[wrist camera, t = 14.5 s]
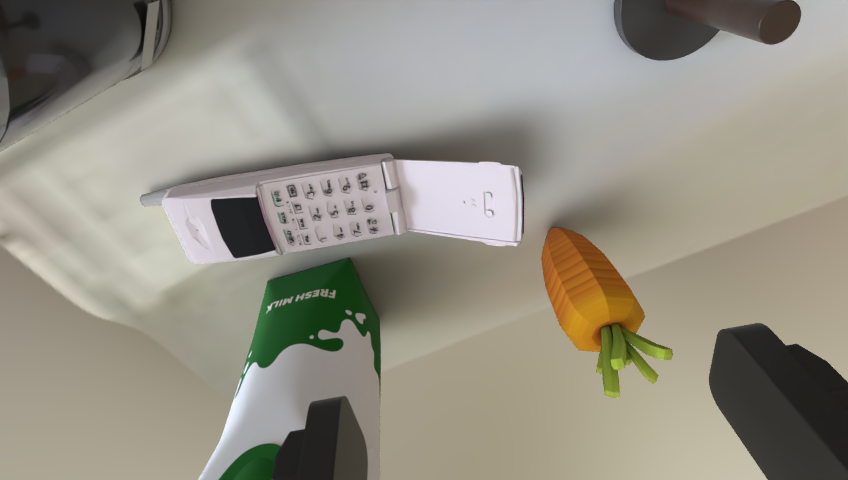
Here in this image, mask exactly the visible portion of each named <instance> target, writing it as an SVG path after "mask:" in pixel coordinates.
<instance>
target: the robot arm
mask: <svg viewBox="0 0 848 480" xmlns="http://www.w3.org/2000/svg"><path fill="white" fill-rule="evenodd" d="M171 17H172V13H171V2H170V0H0V152H1V151H3V150H5V149H6V148H8V147H10V146H11V145H13V144H15V143H16V142H18V141H20V140H22V139H23V138H25V137H27V136H28V135H30V134H32V133H33V132H35V131H37V130H39V129H40V128H42V127H44V126H45V125H47V124H49V123H50V122H52V121H54V120H55V119H57V118H59V117H61V116H62V115H64V114H66V113H67V112H69V111H71V110H72V109H74V108H76V107H78V106H79V105H81V104H83V103H84V102H86V101H88V100H89V99H91V98H93V97H94V96H96V95H98V94H100V93H101V92H103V91H105V90H106V89H108V88H110V87H112V86H113V85H115V84H117V83H118V82H120V81H122V80H125V79H127V78H130V77H132V76H134V75H136V74H138V73H139V72H141V71H143V70H144V69H146V68H147V67H149V66H150V65H152V63H153V62H154V61H155V60H156V59H157V58H158V57H159V55H160V54H161V53H162V51H163V49H164V47H165V45H166V43H167V40H168V38H169V33H170V29H171ZM709 385H710V389H711V393H712V395H713V398H714V400H715V402H716V404H717V406H718V407H719V409H720V410H721V412H722V413H723V415H724V416H725V417H726V419H727V421H728V422H729V423H730V425H731V426H732V428H733V429H734V431H735V432H736V434H737V435H738V437H739V438H740V440H741V441H742V443H743V444H744V445H745V447H746V448H747V450H748V451H749V453H750V454H751V456H752V457H753V459H754V460H755V461H756V463H757V465H758V466H759V467H760V469H761V470H762V472H763V473H764V474H765V476H766V478H767V479H768V480H848V382H847V381H846V380H845V379H844V378H843V377H842V376H841V375H840V374H839V373H838V372H837V371H836V370H835V369H833V367H832V366H831V365H830V364H829V363H828V362H827V361H825V360H823V359H822V358H820V357H818V356H817V355H815V354H813V353H811V352H810V351H808V350H806V349H805V348H803V347H801V346H799V345H798V344H793V345H787V346H786V345H785V344H784V343H783V342H782V341H781V340H780V339H779V338H778V337H777V336H776V335H775V334H774V333H773V332H772V331H771V330H770V329H769V328H768V327H767V326H765V325H764V324H761V323H755V324H750V325H744V326H739V327H733V328H727V329H722V330H720V331H719V332H718V335H717V339H716V344H715V349H714V354H713V359H712V364H711V369H710V374H709ZM367 474H368V455H367V447H366V442H365V438H364V435H363V433H362V430H361V428H360V426H359V423H358V421H357V419H356V416H355V414H354V412H353V409H352V407H351V405H350V402H349V400H348V398H347V397H346V396H340V397H334V398H329V399H323V400H318V401H313V402H311V403H310V405H309V408H308V413H307V419H306V425H305V429H302V430H296V431H290V432H289V434H288V436H287V437H286V439H285V441H284V442H283V444H282V446H281V447H280V449H279V451H278V452H277V454H276V457H275V461H274V466H273V471H272V475H271V480H367Z"/></svg>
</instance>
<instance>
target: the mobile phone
mask: <svg viewBox="0 0 848 480" xmlns="http://www.w3.org/2000/svg"><path fill="white" fill-rule="evenodd" d="M140 201H141V204H142V205H143V206H144V207H146V206H159V205H163V207H164V209H165V211H166V213H167V215H168V218H169V220H170V222H171V224H172V226H173V228H174V230H175V232H176V234H177V236H178V238H179V241H180V243H181V245H182V247H183V249H184V251H185V253H186V255H187V257H188V259H189V260H190V261H191V262H193V263H196V264H206V263H219V262H230V261H240V260H249V259H257V258H264V257H272V256H279V255H282V254H286V253H292V252H299V251H305V250H311V249H317V248H323V247H328V246H333V245H339V244H344V243H350V242H355V241H361V240H366V239H372V238H377V237H383V236H388V235H394V232H395V233H396V234H398V235H401V234H404V233H405V232H406V231H413V232H420V233H427V234H433V235H440V236H447V237H453V238H460V239H467V240H474V241H480V242H485V244H487V245H493V246H502V247H503V246H505V245H511V246H518V245H519V244H520V243H521V241H522V238H523V233H524V192H523V180H522V171H521V169H520V168H519V167H518V166H510V165H501V163H499V162H487V161H481V162H479V163H476V162H459V161H432V160H405V159H394V157H393V156H392V154H391V153H385V154H374V155H366V156H358V157H351V158H343V159H335V160H328V161H320V162H312V163H305V164H298V165H292V166H286V167H279V168H273V169H266V170H260V171H254V172H247V173H241V174H235V175H228V176H222V177H217V178H211V179H206V180H201V181H196V182H191V183H186V184H181V185H176V186H174V187H172V188H170V189H165V190H161V191H156V192H152V193H148V194H144V195H142V196H141V197H140Z"/></svg>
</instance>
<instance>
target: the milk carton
mask: <svg viewBox="0 0 848 480" xmlns="http://www.w3.org/2000/svg"><path fill="white" fill-rule="evenodd" d="M380 373H381V343H380V321H379V319H378V317H377V315H376V312H375V310H374V308H373V306H372V304H371V302H370V300H369V298H368V295H367V293H366V291H365V289H364V287H363V285H362V283H361V281H360V278H359V276H358V274H357V272H356V270H355V268H354V266H353V264H352V261H351V259H350V258H348V259H344V260H340V261H337V262H333V263H330V264H326V265H323V266H319V267H316V268H312V269H309V270H305V271H302V272H298V273H294V274H291V275H287V276H284V277H280V278H277V279H273V280H270V281H268V282H267V286H266V290H265V294H264V298H263V302H262V306H261V310H260V314H259V317H258V321H257V325H256V329H255V333H254V337H253V340H252V344H251V347H250V350H249V353H248V356H247V359H246V363H245V366H244V369H243V372H242V375H241V378H240V381H239V385H238V388H237V391H236V394H235V397H234V400H233V403H232V407H231V410H230V413H229V416H228V419H227V422H226V425H225V429H224V431H223V434H222V437H221V439H220V442H219V444H218V446H217V448H216V449H215V451H214V453H213V455H212V456H211V458H210V460H209V462H208V464H207V465H206V467H205V469H204V470H203V472H202V474H201V476H200V477H199V479H198V480H271V475H272V471H273V466H274V461H275V457H276V454H277V452H278V451H279V449H280V447H281V446H282V444H283V442H284V441H285V439H286V437H287V436H288V434H289V432H290V431H296V430H302V429H305V425H306V419H307V413H308V408H309V405H310V403H311V402H313V401H318V400H323V399H329V398H334V397H340V396H346V397H347V398H348V400H349V402H350V405H351V407H352V409H353V412H354V414H355V416H356V419H357V421H358V423H359V426H360V428H361V430H362V433H363V435H364V438H365V442H366V447H367V455H368V474H367V480H380V456H379V455H380V454H379V453H380V450H379V449H380Z"/></svg>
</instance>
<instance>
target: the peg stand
mask: <svg viewBox="0 0 848 480" xmlns="http://www.w3.org/2000/svg"><path fill="white" fill-rule="evenodd" d="M800 18H801V10H800V7H799V5H798V4H797V3H796V2H794V1H792V0H615V2H614V19H615V24H616V28H617V31H618V33H619V35H620V37H621V39H622V40H623V42H624V43H625V44H626V45H627V46H628V47H629V48H630V49H632V50H633V51H634V52H636V53H638V54H640V55H642V56H644V57H646V58H649V59H653V60H674V59H677V58H681V57H684V56H686V55H689V54H691V53H693V52H694V51H696V50H698V49H699V48H701V47H702V46H704V45H705V44H706V43H707V42H709V41H710V40H711V39H712V38H713V37H714V36H715V35H716V34H717V33H718V32H719V30H723V31H726V32H730V33H733V34H736V35H739V36H742V37H746V38H749V39H752V40H755V41H758V42H762V43H765V44H769V45H772V44H777V43H780V42H782V41H784V40H786V39H787V38H788V37H789V36H790V35H791V34H792V33H793V32H794V31H795V29H796V28H797V26H798V24H799V22H800Z"/></svg>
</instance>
